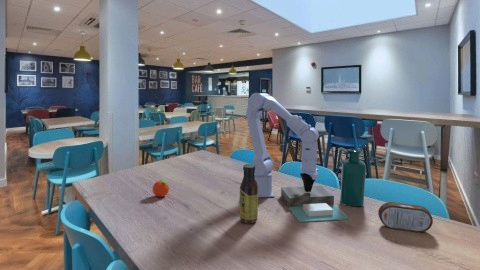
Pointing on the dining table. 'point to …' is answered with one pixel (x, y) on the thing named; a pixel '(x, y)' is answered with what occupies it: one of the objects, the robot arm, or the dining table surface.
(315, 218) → the mat
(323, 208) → the white block
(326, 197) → the grey flat block
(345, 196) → the green bottle
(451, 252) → the dining table surface
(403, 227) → the tin
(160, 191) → the clementine
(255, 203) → the sauce bottle
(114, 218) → the dining table surface
